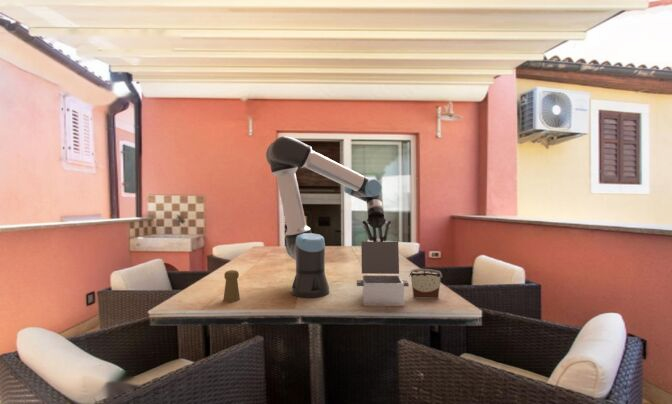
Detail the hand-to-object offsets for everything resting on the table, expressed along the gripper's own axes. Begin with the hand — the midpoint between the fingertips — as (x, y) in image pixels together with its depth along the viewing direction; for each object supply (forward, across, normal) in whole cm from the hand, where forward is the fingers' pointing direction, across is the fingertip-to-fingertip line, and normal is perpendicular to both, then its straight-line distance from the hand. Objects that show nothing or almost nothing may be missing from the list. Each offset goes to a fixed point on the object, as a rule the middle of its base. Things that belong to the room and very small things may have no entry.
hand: (379, 253), depth 132 cm
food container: (+16, -17, -6) cm, 24 cm away
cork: (+21, +57, -2) cm, 61 cm away
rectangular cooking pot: (+21, 0, -2) cm, 21 cm away
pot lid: (+5, 0, +4) cm, 6 cm away
